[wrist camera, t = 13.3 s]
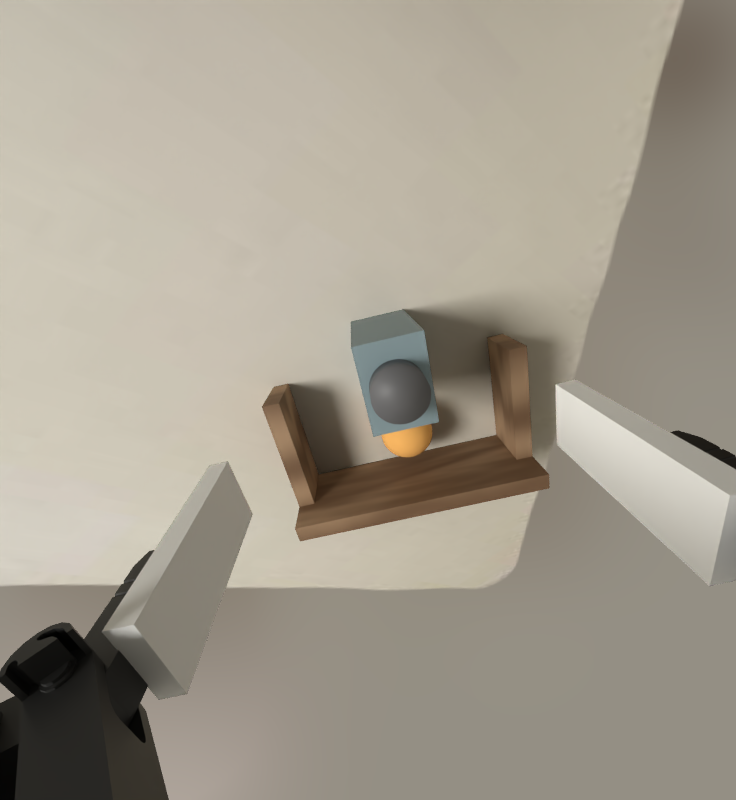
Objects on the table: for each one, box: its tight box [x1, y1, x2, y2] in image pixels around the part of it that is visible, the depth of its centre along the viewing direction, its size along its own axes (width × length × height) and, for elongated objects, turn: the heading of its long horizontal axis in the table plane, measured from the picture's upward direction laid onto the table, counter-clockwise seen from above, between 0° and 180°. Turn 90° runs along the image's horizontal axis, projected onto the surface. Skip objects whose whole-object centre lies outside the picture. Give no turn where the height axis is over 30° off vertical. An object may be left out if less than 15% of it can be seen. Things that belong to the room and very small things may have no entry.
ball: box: [382, 424, 432, 457], centre depth 35 cm, size 5×5×5 cm
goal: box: [262, 334, 549, 541], centre depth 33 cm, size 12×23×8 cm, turn 103°
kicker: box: [351, 310, 439, 437], centre depth 28 cm, size 7×5×12 cm
